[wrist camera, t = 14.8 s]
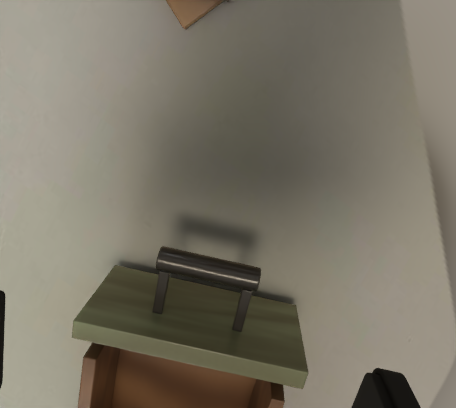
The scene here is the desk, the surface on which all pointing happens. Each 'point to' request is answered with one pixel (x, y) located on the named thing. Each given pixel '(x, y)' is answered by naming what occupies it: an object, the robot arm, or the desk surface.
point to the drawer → (187, 339)
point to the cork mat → (191, 10)
